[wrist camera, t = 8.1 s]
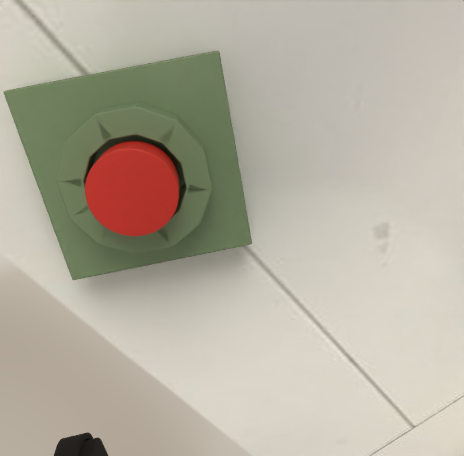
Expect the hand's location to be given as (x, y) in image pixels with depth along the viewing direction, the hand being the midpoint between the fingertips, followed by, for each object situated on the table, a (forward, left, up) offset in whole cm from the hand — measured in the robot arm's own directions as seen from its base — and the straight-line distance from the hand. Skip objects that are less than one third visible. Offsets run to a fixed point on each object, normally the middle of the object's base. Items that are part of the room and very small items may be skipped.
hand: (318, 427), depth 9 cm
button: (-3, -5, -13) cm, 14 cm away
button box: (-3, -5, -17) cm, 17 cm away
